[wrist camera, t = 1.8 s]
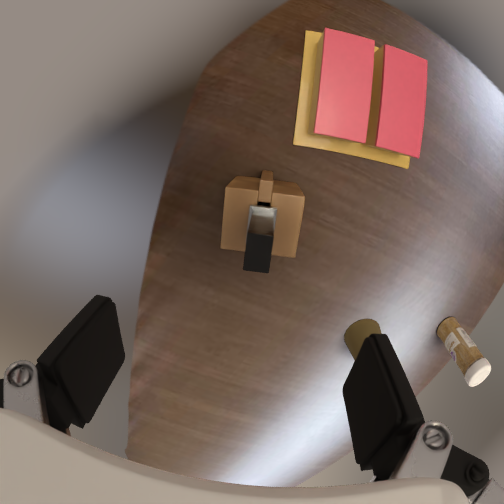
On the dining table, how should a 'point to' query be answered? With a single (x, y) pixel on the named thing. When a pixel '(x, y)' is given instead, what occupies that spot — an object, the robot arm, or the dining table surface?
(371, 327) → the olive brown pawn
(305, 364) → the dining table surface
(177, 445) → the dining table surface
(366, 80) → the cake
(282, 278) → the dining table surface
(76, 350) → the robot arm
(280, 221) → the knife block
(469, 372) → the sprinkles bottle
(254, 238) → the knife
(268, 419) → the dining table surface
